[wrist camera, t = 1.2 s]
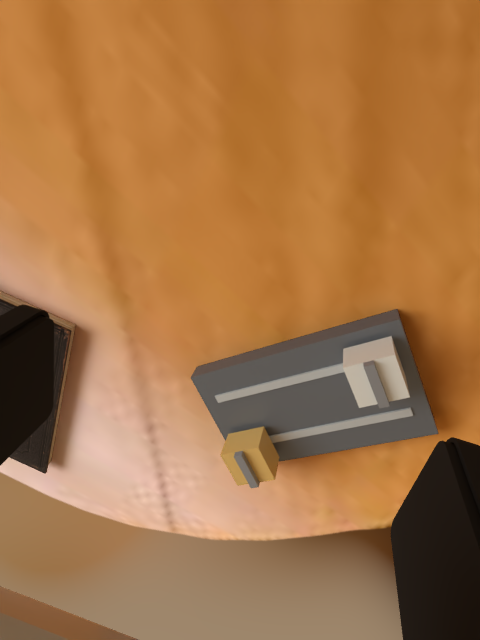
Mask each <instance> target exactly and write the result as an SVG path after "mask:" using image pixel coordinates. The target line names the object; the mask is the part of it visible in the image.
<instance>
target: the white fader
mask: <svg viewBox="0 0 480 640" xmlns="http://www.w3.org/2000/svg"><path fill="white" fill-rule="evenodd" d="M343 369H344V372H345V374H346V377H347V379H348V382H349V384H350V387H351V389H352V392H353V394H354V396H355V399H356V401H357V404H358V406H359V408H362V407H366V406H371V405H376V404H378V406H379V408H384V407H389V406H390V404H389V402H390V401H395V400H400V399H405V398H409V397H410V395H409V390H408V385H407V381H406V376H405V373H404V371H403V368H402V365H401V362H400V359H399V356H398V353H397V350H396V348H395V345H394V342H393V339H392V336H389V337H386V338H382V339H378V340H374V341H371V342H367V343H363V344H359V345H356V346H352V347H348V348H344V349H343Z"/></svg>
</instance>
